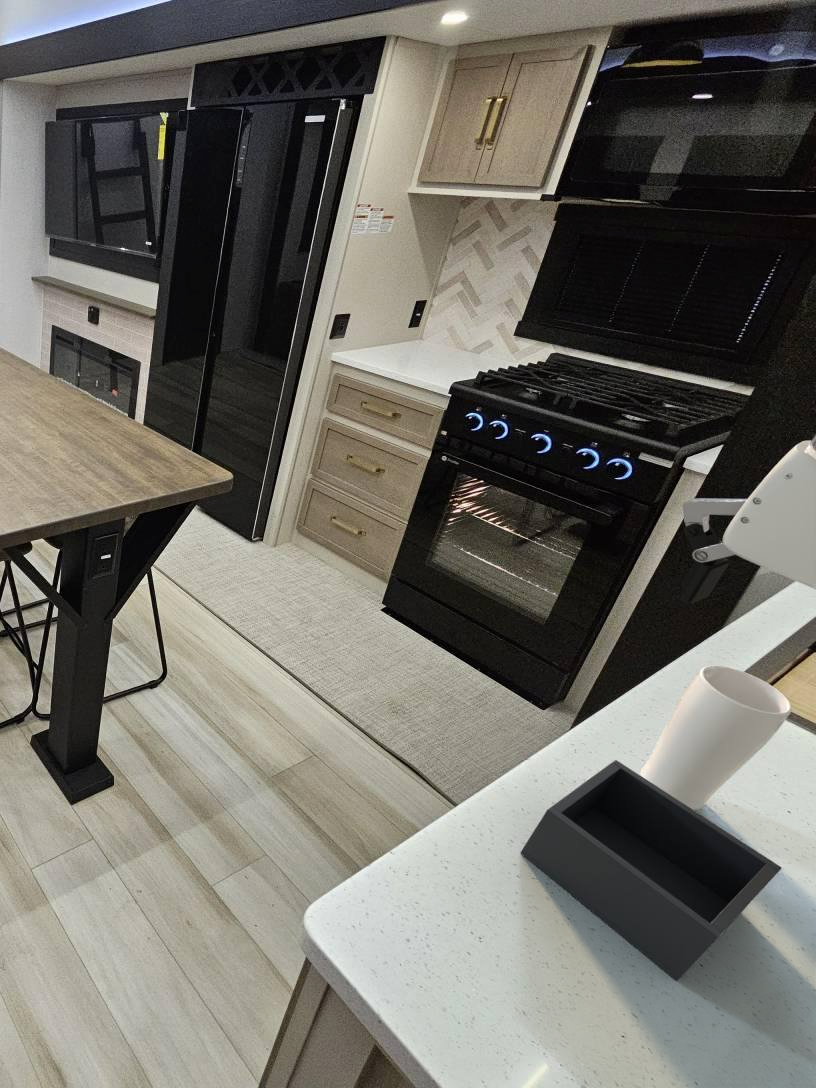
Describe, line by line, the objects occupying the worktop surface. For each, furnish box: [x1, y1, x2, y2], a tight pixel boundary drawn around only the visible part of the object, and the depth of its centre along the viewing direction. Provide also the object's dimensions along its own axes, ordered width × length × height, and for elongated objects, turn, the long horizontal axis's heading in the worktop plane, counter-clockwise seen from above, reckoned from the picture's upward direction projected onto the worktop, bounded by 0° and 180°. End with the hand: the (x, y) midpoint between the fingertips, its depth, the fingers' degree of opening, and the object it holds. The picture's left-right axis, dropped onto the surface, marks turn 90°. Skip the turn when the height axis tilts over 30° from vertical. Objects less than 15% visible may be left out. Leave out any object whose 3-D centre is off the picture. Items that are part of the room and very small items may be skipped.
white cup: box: [639, 665, 793, 811], centre depth 70 cm, size 7×7×15 cm
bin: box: [520, 759, 782, 982], centre depth 63 cm, size 13×13×7 cm
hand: (761, 631), depth 58 cm, fingers open, 9 cm apart
